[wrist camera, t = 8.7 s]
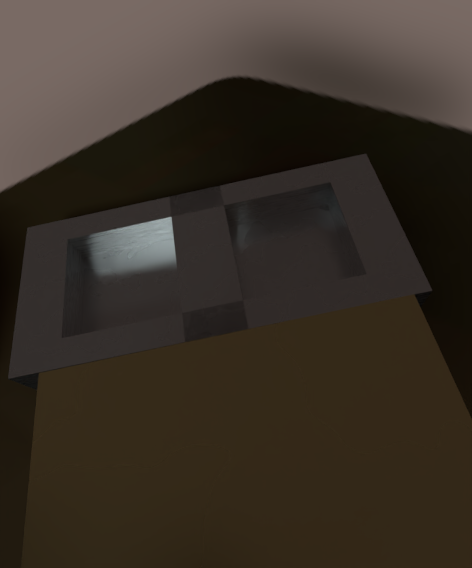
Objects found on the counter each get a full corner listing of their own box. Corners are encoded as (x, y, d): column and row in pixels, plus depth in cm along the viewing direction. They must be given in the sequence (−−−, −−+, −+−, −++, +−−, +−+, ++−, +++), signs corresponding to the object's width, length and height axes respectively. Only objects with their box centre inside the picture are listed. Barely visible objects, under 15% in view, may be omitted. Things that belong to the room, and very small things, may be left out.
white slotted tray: (44, 393, 20) (8, 378, 18) (55, 255, 25) (27, 227, 22) (413, 316, 20) (432, 290, 17) (357, 189, 24) (366, 153, 22)
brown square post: (224, 620, 12) (-27, 1093, 3) (204, 450, 15) (38, 372, 5) (381, 591, 12) (730, 982, 2) (334, 424, 15) (414, 293, 5)
